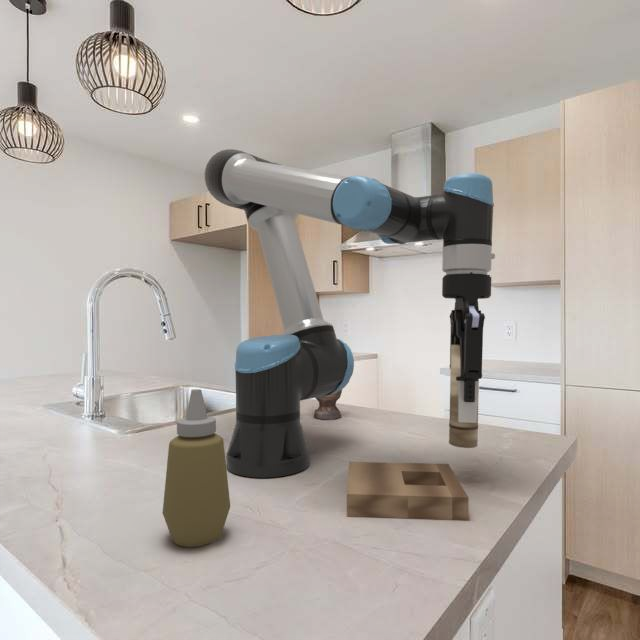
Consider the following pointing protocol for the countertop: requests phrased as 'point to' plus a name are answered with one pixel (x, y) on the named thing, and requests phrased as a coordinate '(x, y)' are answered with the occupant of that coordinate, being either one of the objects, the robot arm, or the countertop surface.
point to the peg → (458, 431)
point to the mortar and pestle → (328, 407)
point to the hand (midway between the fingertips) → (463, 417)
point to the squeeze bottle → (196, 479)
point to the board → (405, 491)
